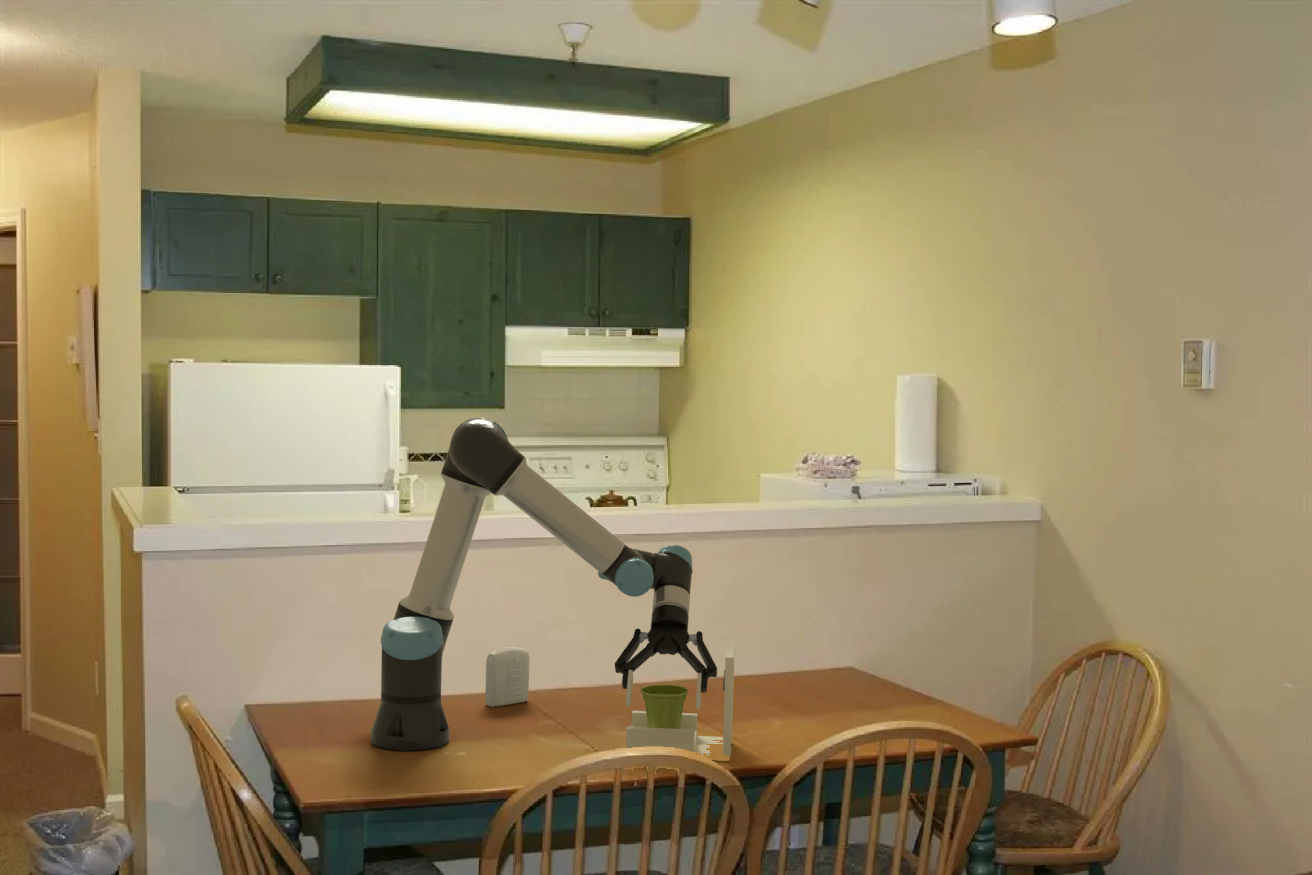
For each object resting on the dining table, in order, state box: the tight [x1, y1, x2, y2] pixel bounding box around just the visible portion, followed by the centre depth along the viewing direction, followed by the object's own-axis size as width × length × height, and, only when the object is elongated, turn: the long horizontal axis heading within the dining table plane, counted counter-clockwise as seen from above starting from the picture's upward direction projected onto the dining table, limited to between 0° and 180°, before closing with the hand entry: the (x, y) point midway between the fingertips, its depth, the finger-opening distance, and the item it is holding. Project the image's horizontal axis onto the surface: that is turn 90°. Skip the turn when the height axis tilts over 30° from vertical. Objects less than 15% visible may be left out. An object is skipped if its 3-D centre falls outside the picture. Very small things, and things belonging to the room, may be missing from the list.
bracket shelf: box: [625, 642, 736, 757], centre depth 275 cm, size 14×20×20 cm
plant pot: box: [640, 683, 689, 729], centre depth 275 cm, size 9×9×9 cm
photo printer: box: [484, 646, 530, 708], centre depth 308 cm, size 10×4×12 cm, turn 134°
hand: (663, 703), depth 273 cm, fingers open, 13 cm apart
